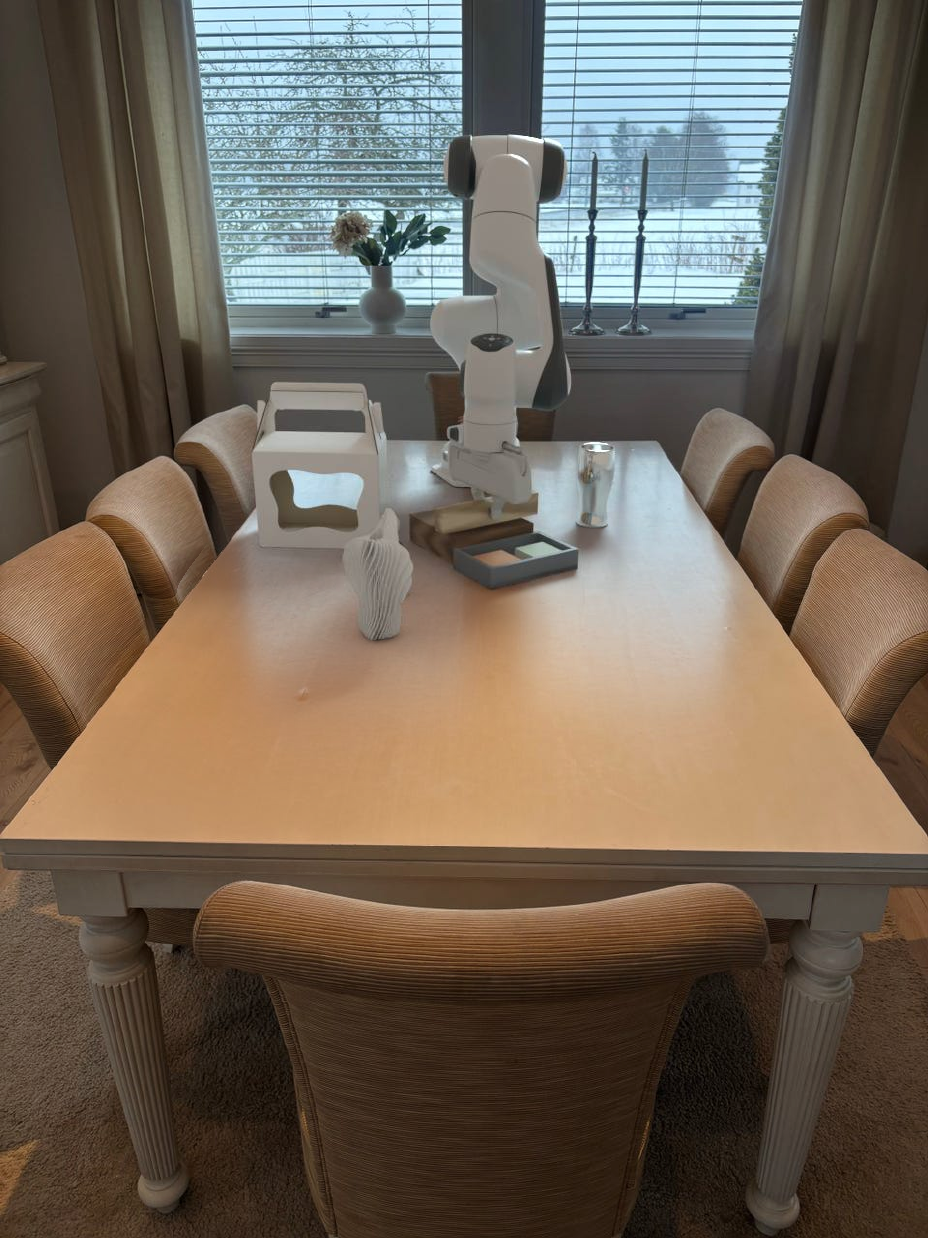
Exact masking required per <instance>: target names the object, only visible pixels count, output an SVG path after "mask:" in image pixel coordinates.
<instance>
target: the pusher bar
mask: <svg viewBox="0 0 928 1238" xmlns="http://www.w3.org/2000/svg"><path fill="white" fill-rule="evenodd" d="M491 498H492V496H488V497H485V498H482V499H477V500H474V499H473V500H468V501H462V502H457V503H453V504H446V505H443V506H438V507H437V506H436V507H435V508H434V509H435V530H436V531H438V532H439V533H441V534H448V533H452V532H457V531H462V530H466V529H471V528H476V527H480V526H485V525H490V524H494V523H499V522H503V521H508V520H513V519H517V518H526V517H531V516H535V515H538V513H539V492H538V491H536V490H533V489H532V495H531V498H530V499H529V501H528V502H525V503H520V504H511V503H509V502H505V503H504V505H503V507H502V509H501V518H500V519H496V520H494V519H492V518H489V517H488V508H491V507H492V504H493V501H492V500H491Z"/></svg>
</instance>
